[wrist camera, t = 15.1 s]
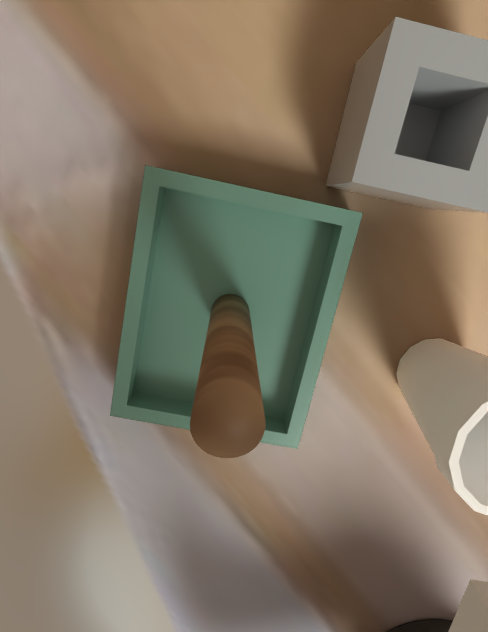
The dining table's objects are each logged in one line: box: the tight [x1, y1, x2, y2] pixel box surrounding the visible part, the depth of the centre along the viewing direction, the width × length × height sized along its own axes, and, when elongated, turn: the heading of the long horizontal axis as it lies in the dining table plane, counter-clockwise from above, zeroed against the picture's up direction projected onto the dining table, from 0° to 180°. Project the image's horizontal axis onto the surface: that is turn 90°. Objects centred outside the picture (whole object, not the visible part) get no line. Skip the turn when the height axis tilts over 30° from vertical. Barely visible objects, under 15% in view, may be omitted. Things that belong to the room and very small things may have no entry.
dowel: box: [190, 294, 266, 458], centre depth 26 cm, size 3×3×18 cm
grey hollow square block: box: [325, 17, 488, 213], centre depth 29 cm, size 9×9×8 cm
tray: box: [110, 165, 363, 449], centre depth 34 cm, size 20×16×4 cm
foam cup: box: [396, 338, 488, 515], centre depth 32 cm, size 10×9×13 cm
